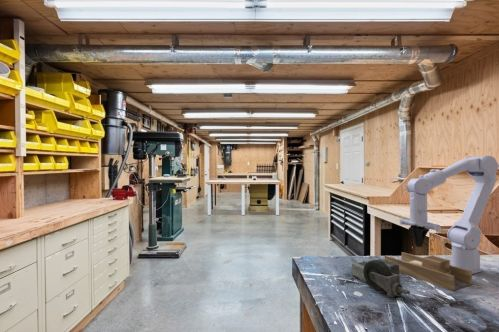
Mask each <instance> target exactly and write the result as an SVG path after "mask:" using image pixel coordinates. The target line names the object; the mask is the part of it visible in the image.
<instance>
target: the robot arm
mask: <svg viewBox="0 0 499 332" xmlns="http://www.w3.org/2000/svg"><path fill="white" fill-rule="evenodd" d="M498 170H499V162H498V161H497V159H496V158H495V157H494V156H492V155H482V156H467V157H465V158H461V159H460V160H459V161H456V162H455V163H453V164H450V165H449V166H446V167H445V168H443V169H442V170H440V169H435V168H433V169H432V168H431V169H430V170H429V172H428V173H425V174H424V175H422V174H420V175H418V178H411V179H409V180H408V182H407V185H405V189H406V190H407V192H408V196H409V219H406V218H402V219H399V225H405V226H409V227H408V231H409V232H410V234H411V237H412V238H413V241H414V245H415V247H416V248H422V247H423V245H424V241H425V238H426V237H427V235H428V233H429V231H430V230H431V231H434V232H437V231H440V230H441V225H440V224H437V223H433V222H429V221H428V194H429V193H430V192H431V190H432V189H434V188H436V187H439V186H440V185H443V184H445V183H446V182H447V179H448V178H451V177H453V176H455V175H457V174H460V173H463V172H466V173H467V174H468V175H469V176H470V177H471V178H472V180H474V182H475V184H474V186H473V189H472V190H471V191H472V192H471V193H470V196H469V199H468V200H467V204H466V206H465V207H464V210H463V213H462V215H461V218H460V219H459V220H457V221H455V222H454V223H453V225H452V226H451V227H450V228H449V229H448V231H446V232H447V234H446V236H447V240H448V241H449V242H450V245H451V266H455V267H459V268H462V269H466V270H469V271H472V275H474V274H477V273H480V272H483V271H484V270H483V269H481V254H480V251H479V249H478V247H479V246H480V245H481V235H482V233H483V232H482V230H481V229H480V227H479V223H480V221H481V219H482V216H483V213H484V211H485V209H486V206H487V204H488V201H489V199H490V197H491V194H492V192H493V190H494V187H495V185H496V181H497V180H496V179H497V178H496V177H497V175H496V174H497V172H498Z"/></svg>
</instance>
